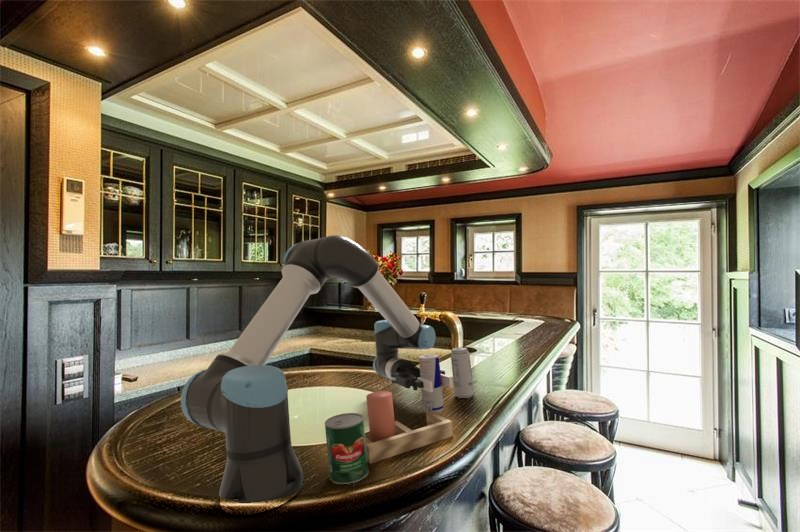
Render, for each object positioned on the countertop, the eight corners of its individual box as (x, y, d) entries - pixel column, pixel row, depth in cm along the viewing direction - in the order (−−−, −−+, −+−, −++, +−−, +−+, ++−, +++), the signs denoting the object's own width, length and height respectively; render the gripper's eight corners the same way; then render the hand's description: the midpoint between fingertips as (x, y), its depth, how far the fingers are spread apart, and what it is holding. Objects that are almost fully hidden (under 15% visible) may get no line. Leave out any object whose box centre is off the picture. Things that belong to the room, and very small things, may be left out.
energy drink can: (475, 398, 115) (470, 349, 116) (456, 400, 115) (451, 351, 116) (472, 392, 121) (467, 346, 122) (453, 394, 122) (449, 348, 122)
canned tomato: (353, 461, 81) (349, 410, 82) (376, 472, 75) (371, 417, 76) (321, 476, 76) (317, 421, 76) (343, 489, 70) (338, 430, 71)
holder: (370, 463, 79) (368, 446, 79) (354, 448, 88) (353, 433, 88) (453, 436, 89) (451, 421, 89) (432, 424, 98) (430, 411, 98)
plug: (377, 455, 83) (372, 400, 83) (367, 446, 88) (362, 395, 89) (401, 447, 86) (396, 394, 86) (390, 439, 91) (385, 389, 91)
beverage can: (442, 413, 99) (437, 357, 100) (422, 414, 101) (417, 358, 101) (444, 406, 105) (439, 353, 106) (425, 407, 106) (420, 354, 107)
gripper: (427, 377, 123) (470, 391, 103) (375, 388, 115) (412, 407, 94) (425, 354, 124) (468, 364, 103) (373, 364, 115) (409, 376, 95)
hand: (441, 384), depth 99 cm, fingers closed on beverage can, 5 cm apart
